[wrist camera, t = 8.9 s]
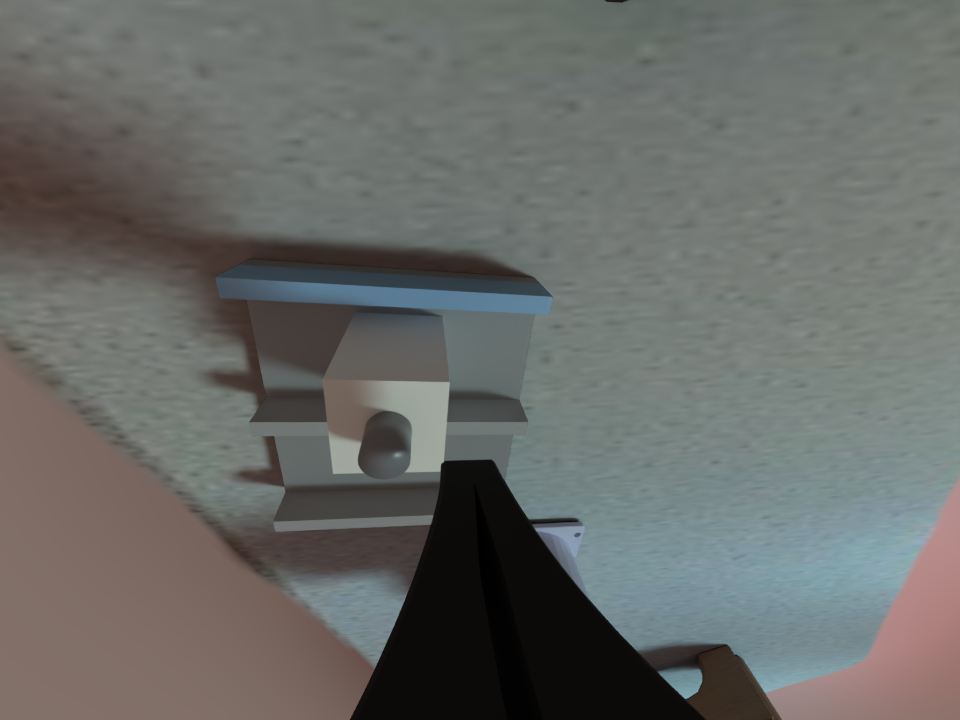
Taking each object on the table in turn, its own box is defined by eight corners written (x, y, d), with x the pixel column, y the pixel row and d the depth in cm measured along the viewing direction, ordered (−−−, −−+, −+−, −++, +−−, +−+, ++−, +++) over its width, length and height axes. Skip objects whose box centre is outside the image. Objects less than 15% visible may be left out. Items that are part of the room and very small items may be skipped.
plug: (438, 387, 19) (445, 503, 13) (359, 386, 18) (322, 507, 12) (442, 316, 17) (452, 408, 11) (354, 311, 17) (308, 407, 10)
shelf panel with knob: (499, 482, 24) (508, 521, 22) (293, 488, 22) (275, 531, 20) (534, 277, 18) (553, 296, 15) (249, 258, 16) (214, 277, 13)
